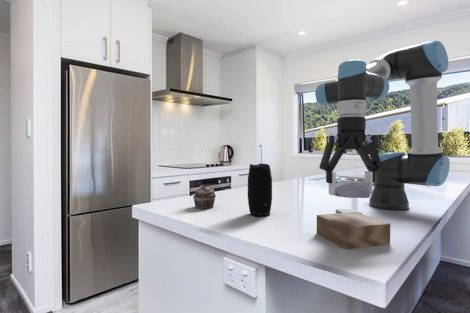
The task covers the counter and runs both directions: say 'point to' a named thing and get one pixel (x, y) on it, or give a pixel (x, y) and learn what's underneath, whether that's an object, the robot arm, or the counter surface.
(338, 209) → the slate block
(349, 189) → the stone block
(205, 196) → the cupcake
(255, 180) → the portable speaker
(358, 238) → the walnut block
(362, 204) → the counter surface
